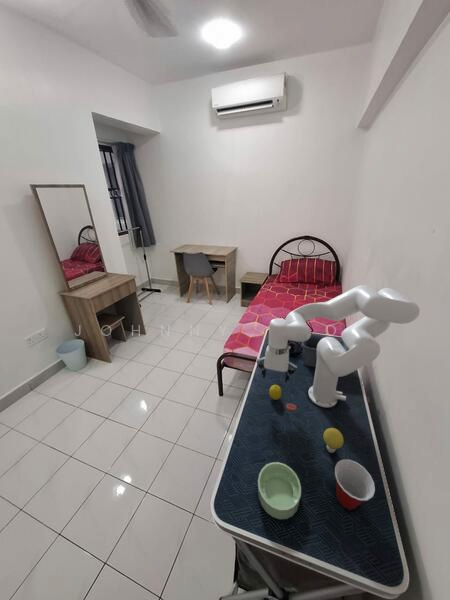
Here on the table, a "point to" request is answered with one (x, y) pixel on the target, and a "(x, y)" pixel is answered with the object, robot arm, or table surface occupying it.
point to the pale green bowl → (279, 490)
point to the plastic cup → (353, 484)
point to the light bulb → (333, 439)
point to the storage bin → (315, 348)
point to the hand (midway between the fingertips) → (275, 378)
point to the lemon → (275, 392)
